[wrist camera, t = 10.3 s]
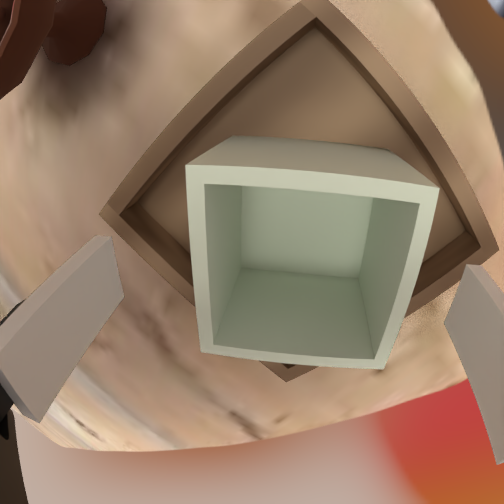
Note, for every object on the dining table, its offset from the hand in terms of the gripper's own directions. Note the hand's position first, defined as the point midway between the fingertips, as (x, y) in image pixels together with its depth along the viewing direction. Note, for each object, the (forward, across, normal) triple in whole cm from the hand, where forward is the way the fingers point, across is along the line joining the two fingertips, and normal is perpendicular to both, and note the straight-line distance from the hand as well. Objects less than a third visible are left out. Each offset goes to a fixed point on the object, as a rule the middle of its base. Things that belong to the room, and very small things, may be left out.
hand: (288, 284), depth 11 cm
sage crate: (+7, +1, 0) cm, 7 cm away
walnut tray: (+8, +1, 0) cm, 8 cm away
